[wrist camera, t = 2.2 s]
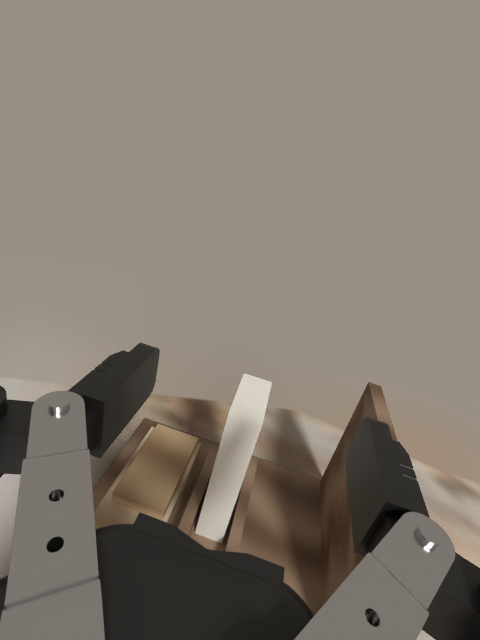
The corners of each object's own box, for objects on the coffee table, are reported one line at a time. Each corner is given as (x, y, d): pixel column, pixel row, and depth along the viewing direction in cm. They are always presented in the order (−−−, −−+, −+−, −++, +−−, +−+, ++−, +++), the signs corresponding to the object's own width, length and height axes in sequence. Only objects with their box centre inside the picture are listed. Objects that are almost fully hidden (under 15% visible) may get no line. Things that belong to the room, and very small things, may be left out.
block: (221, 543, 30) (262, 425, 24) (194, 533, 30) (228, 413, 24) (235, 491, 34) (271, 382, 29) (212, 482, 35) (244, 373, 29)
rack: (333, 674, 24) (430, 552, 18) (49, 557, 26) (46, 413, 20) (328, 489, 39) (380, 386, 32) (144, 424, 41) (160, 316, 35)
